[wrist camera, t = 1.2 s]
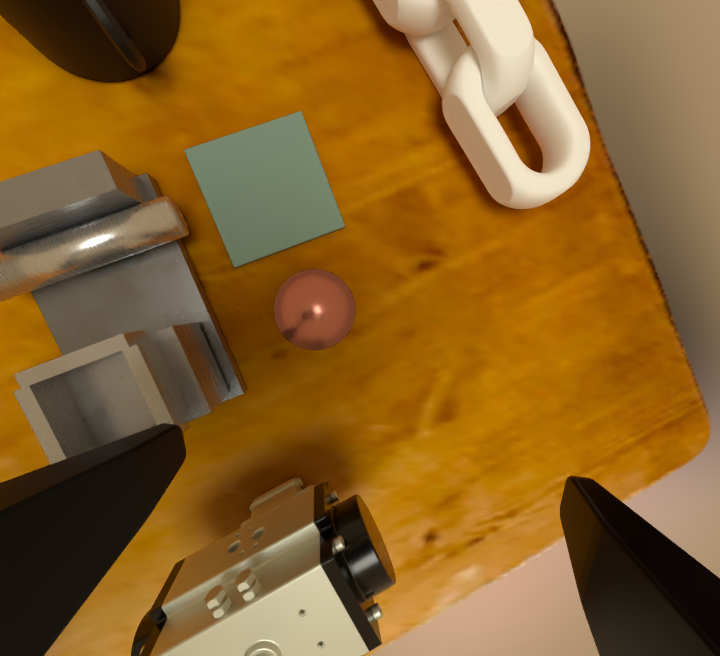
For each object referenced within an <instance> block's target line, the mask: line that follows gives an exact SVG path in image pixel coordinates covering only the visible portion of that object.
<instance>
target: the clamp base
mask: <svg viewBox="0 0 720 656" xmlns="http://www.w3.org/2000/svg"><path fill="white" fill-rule="evenodd" d="M187 235H189V229H188V226H187V223H186V221H185V218H184V216H183V214H182V213H181V211H180V209H179V207H178V206H177V204H176V203H175V202H174V200H173V199H172V198H171V197H170V196H168V195H166V196H162V193H161V191H160V189H159V187H158V184H157V182H156V180H155V179H153V178H152V177H151V176H150V175H148V174H147V173H146V174H143V175H140V176H135V175H134V174H132V173H131V172H130V171H128V170H127V169H125V168H124V167H123V166H121V165H120V164H118V163H117V162H116V161H114V160H113V159H111V158H110V157H109V156H107V155H106V154H105V153H103V152H102V151H100V150H98V151H94V152H91V153H88V154H85V155H82V156H79V157H76V158H73V159H70V160H67V161H64V162H61V163H58V164H55V165H51V166H48V167H45V168H42V169H39V170H36V171H33V172H30V173H27V174H24V175H21V176H18V177H15V178H12V179H8V180H5V181H2V182H0V302H2V301H5V300H8V299H11V298H14V297H17V296H19V295H22V294H25V293H28V292H32V294H33V296H34V298H35V300H36V302H37V304H38V306H39V308H40V310H41V312H42V314H43V316H44V318H45V320H46V322H47V324H48V326H49V328H50V330H51V332H52V334H53V336H54V338H55V340H56V342H57V344H58V346H59V348H60V350H61V352H62V354H63V356H64V355H67V354H69V353H72V352H74V351H77V350H80V349H82V348H85V347H88V346H90V345H93V344H96V343H98V342H101V341H104V340H106V339H109V338H112V337H114V336H117V335H119V334H122V333H128V332H135V331H142V330H144V331H145V333H146V335H150V334H152V333H155V332H157V331H160V330H163V329H165V328H168V327H170V326H175V325H182V324H189V323H196V322H199V325H200V327H201V329H202V331H203V334H204V336H205V338H206V340H207V343H208V345H209V347H210V349H211V352H212V354H213V356H214V358H215V361H216V363H217V365H218V367H219V370H220V372H221V374H222V376H223V379H224V381H225V383H226V385H227V388H228V390H229V392H230V394H229V395H228V396H227V397H226V398H225V399H224V400H223V401H222V402H224V401H227V400H229V399H231V398H234V397H236V396H239V395H241V394H244V393H245V391H246V390H247V387H246V385H245V383H244V380H243V378H242V376H241V374H240V371H239V369H238V367H237V364H236V362H235V360H234V358H233V355H232V353H231V351H230V348H229V346H228V344H227V342H226V339H225V337H224V335H223V333H222V330H221V328H220V326H219V323H218V321H217V319H216V317H215V314H214V312H213V310H212V307H211V305H210V303H209V301H208V298H207V296H206V294H205V291H204V289H203V287H202V285H201V282H200V280H199V278H198V276H197V273H196V271H195V269H194V266H193V264H192V262H191V260H190V257H189V255H188V253H187V250H186V248H185V246H184V244H183V241H182V239H181V238H182V237H184V236H187ZM222 402H221V403H222Z"/></svg>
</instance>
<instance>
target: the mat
mask: <svg viewBox="0 0 720 656" xmlns="http://www.w3.org/2000/svg"><path fill="white" fill-rule="evenodd" d="M184 151H185V153H186V155H187V158H188V160H189V162H190V165H191V167H192V169H193V172H194V174H195V176H196V179H197V181H198V183H199V186H200V188H201V191H202V193H203V195H204V198H205V200H206V202H207V205H208V207H209V209H210V212H211V214H212V216H213V219H214V221H215V223H216V226H217V228H218V230H219V233H220V235H221V238H222V240H223V242H224V245H225V247H226V249H227V252H228V254H229V256H230V259H231V261H232V263H233V266H234V268H237V267H240V266H243V265H245V264H248V263H251V262H253V261H256V260H259V259H261V258H264V257H267V256H270V255H272V254H275V253H278V252H280V251H283V250H286V249H288V248H291V247H294V246H296V245H299V244H302V243H305V242H307V241H310V240H313V239H315V238H318V237H321V236H323V235H326V234H329V233H331V232H334V231H337V230H340V229H342V228H345V224H344V222H343V219H342V216H341V214H340V211H339V209H338V206H337V203H336V201H335V198H334V196H333V193H332V190H331V188H330V185H329V183H328V180H327V177H326V175H325V172H324V169H323V167H322V164H321V162H320V159H319V156H318V154H317V151H316V149H315V146H314V143H313V141H312V138H311V136H310V133H309V130H308V128H307V125H306V123H305V120H304V117H303V115H302V112H301V111H300V112H297V113H294V114H291V115H288V116H285V117H282V118H279V119H276V120H273V121H270V122H267V123H264V124H261V125H258V126H255V127H252V128H249V129H246V130H243V131H240V132H237V133H234V134H231V135H228V136H225V137H222V138H219V139H216V140H213V141H210V142H207V143H204V144H201V145H198V146H195V147H192V148H189V149H186V150H184Z"/></svg>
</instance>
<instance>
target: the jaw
mask: <svg viewBox="0 0 720 656" xmlns="http://www.w3.org/2000/svg"><path fill="white" fill-rule="evenodd" d="M14 376H15V378H16V380H17V382H18V384H19V386H20V388H21V389H19V390H17V391H14V394H15V396H16V398H17V400H18V402H19V404H20V406H21V408H22V410H23V412H24V414H25V416H26V417H27V419H28V421H29V423H30V425H31V427H32V429H33V431H34V433H35V435H36V437H37V439H38V441H39V442H40V444H41V446H42V448H43V450H44V452H45V454H46V456H47V458H48V460H49V462H50V464H53V463H56V462H59V461H62V460H64V459H67V458H70V457H72V456H75V455H78V454H81V453H83V452H86V451H89V450H91V449H94V448H97V447H100V446H102V445H105V444H108V443H110V442H113V441H116V440H119V439H121V438H124V437H127V436H129V435H132V434H135V433H138V432H140V431H143V430H146V429H148V428H151V427H154V426H157V425H159V424H162V423H169V424H176V425H179V426H180V427H181V429H182V433H184V432H185V431H186V430H187V429H188V428H189V425H188V423H187V422H189V421H191V420H194V419H196V418H199V417H201V416H204V415H206V414H208V413H211V412H212V411H213V410H214V409H215V408H216V407H217V406H218V405H219V404H220V403H221V402H222V401H223V400H224V399H225V398H226V397H227V396H228V395H229V394H230V392H229V390H228V388H227V385H226V383H225V381H224V379H223V376H222V374H221V372H220V370H219V367H218V365H217V363H216V361H215V358H214V356H213V354H212V352H211V349H210V347H209V345H208V343H207V340H206V338H205V336H204V334H203V331H202V329H201V327H200V325H199V322H196V323H189V324H182V325H175V326H170V327H168V328H165V329H163V330H160V331H157V332H155V333H152V334H150V335H146V333H145V331H144V330H142V331H135V332H128V333H122V334H119V335H117V336H114V337H112V338H109V339H106V340H104V341H101V342H98V343H96V344H93V345H90V346H88V347H85V348H82V349H80V350H77V351H74V352H72V353H69V354H67V355H64V356H61V357H59V358H56V359H53V360H51V361H48V362H45V363H43V364H40V365H37V366H35V367H32V368H30V369H27V370H24V371H22V372H19V373H16V374H14Z"/></svg>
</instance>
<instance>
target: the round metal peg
mask: <svg viewBox="0 0 720 656" xmlns="http://www.w3.org/2000/svg"><path fill="white" fill-rule="evenodd" d="M274 316H275V321H276V324H277V326H278V328H279V330H280V331H281V333H282V334H283V335H284V337H285V338H286V339H287V340H289V341H290V342H291V343H293V344H294V345H296V346H298V347H301V348H304V349H308V350H321V349H326V348H329V347H331V346H334V345H335V344H337V343H338V342H340V341H341V340H342V339H343V338H344V337H345V336H346V335H347V334H348V332H349V331H350V329H351V327H352V324H353V322H354V318H355V302H354V298H353V295H352V293H351V291H350V289H349V288H348V286H347V285H346V284H345V282H344V281H343V280H341V279H340V278H339V277H338V276H336V275H334V274H332V273H330V272H328V271H324V270H319V269H309V270H304V271H301V272H298V273H296V274H294V275H293V276H291V277H290V278H288V279H287V280H286V281H285V282H284V283H283V284H282V286H281V287H280V289H279V291H278V293H277V295H276V298H275V302H274Z"/></svg>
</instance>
